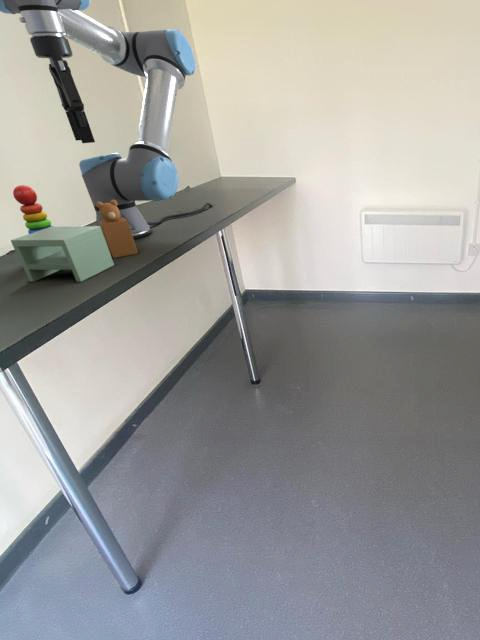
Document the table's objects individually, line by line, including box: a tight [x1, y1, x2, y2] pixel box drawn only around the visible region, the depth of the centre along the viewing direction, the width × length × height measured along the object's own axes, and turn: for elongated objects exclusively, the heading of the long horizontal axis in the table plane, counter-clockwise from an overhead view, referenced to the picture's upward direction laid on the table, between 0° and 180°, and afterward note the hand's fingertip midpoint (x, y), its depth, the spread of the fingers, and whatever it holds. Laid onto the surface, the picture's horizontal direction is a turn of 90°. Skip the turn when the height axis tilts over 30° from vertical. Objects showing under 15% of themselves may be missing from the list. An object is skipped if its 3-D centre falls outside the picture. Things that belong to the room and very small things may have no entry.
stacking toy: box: [12, 184, 55, 234], centre depth 133 cm, size 8×8×19 cm
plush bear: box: [96, 200, 139, 259], centre depth 132 cm, size 6×6×14 cm
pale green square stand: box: [10, 225, 115, 283], centre depth 120 cm, size 13×14×10 cm
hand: (85, 141), depth 121 cm, fingers open, 13 cm apart
